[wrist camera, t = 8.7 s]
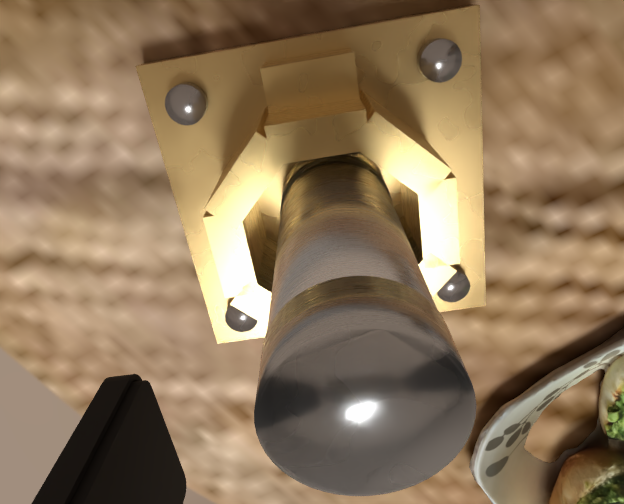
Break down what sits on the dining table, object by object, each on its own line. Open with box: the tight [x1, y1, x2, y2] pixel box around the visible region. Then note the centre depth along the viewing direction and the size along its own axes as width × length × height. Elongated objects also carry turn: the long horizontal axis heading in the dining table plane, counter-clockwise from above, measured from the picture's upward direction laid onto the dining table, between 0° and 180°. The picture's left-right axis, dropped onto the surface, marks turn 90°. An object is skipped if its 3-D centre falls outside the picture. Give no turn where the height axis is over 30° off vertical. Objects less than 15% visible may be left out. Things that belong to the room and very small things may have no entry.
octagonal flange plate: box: [136, 5, 486, 343], centre depth 19 cm, size 12×12×5 cm
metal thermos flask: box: [254, 152, 476, 496], centre depth 15 cm, size 4×4×12 cm
